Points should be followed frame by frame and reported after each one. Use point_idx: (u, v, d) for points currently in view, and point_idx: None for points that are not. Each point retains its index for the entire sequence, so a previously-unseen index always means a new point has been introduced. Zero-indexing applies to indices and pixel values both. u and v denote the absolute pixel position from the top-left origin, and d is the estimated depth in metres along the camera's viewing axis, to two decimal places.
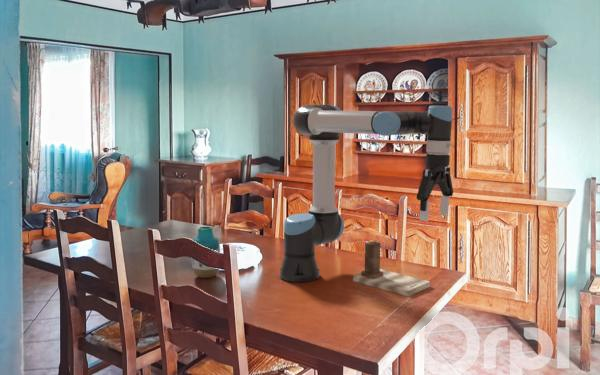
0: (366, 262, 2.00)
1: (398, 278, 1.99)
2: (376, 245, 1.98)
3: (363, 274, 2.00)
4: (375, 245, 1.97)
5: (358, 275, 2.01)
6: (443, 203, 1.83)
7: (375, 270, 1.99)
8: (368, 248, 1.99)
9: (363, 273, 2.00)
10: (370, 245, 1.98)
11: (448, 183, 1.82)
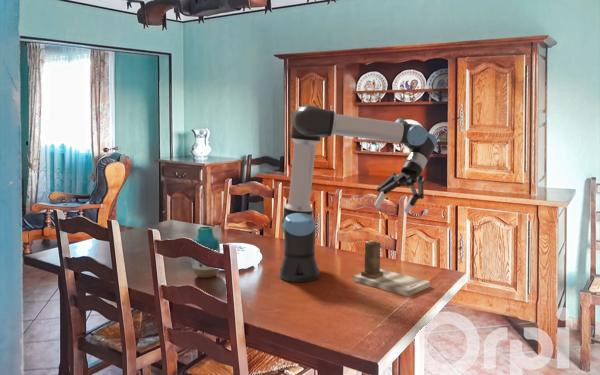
0: (366, 262, 2.00)
1: (398, 278, 1.99)
2: (376, 245, 1.98)
3: (363, 274, 2.00)
4: (375, 245, 1.97)
5: (358, 275, 2.01)
6: (381, 198, 2.11)
7: (375, 270, 1.99)
8: (368, 248, 1.99)
9: (363, 273, 2.00)
10: (370, 245, 1.98)
11: None
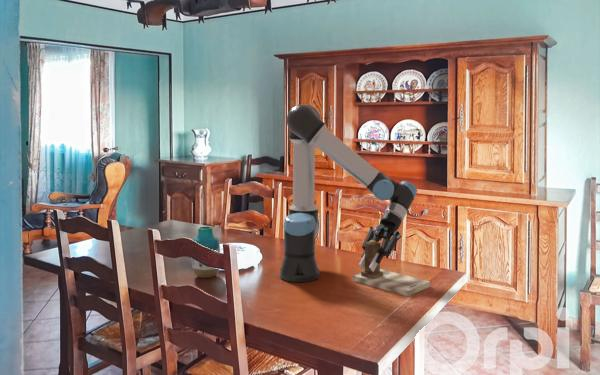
0: (366, 262, 2.00)
1: (398, 278, 1.99)
2: (376, 245, 1.98)
3: (363, 274, 2.00)
4: (375, 245, 1.97)
5: (358, 275, 2.01)
6: None
7: (375, 270, 1.99)
8: (368, 248, 1.99)
9: (363, 273, 2.00)
10: (370, 245, 1.98)
11: None
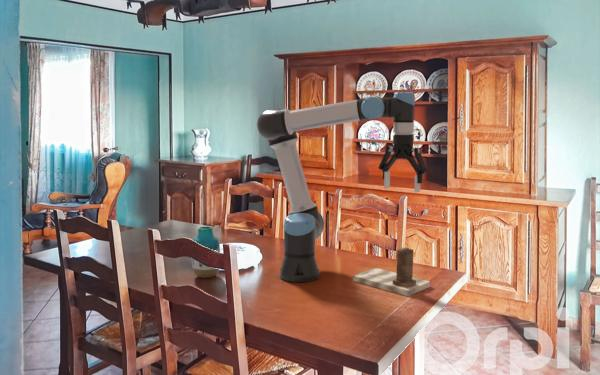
0: (398, 270, 1.90)
1: None
2: (409, 252, 1.88)
3: (395, 282, 1.91)
4: (408, 252, 1.88)
5: (358, 275, 2.01)
6: (387, 178, 2.10)
7: (407, 279, 1.89)
8: (400, 255, 1.89)
9: (395, 281, 1.91)
10: (403, 252, 1.88)
11: (387, 160, 2.10)
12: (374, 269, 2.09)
